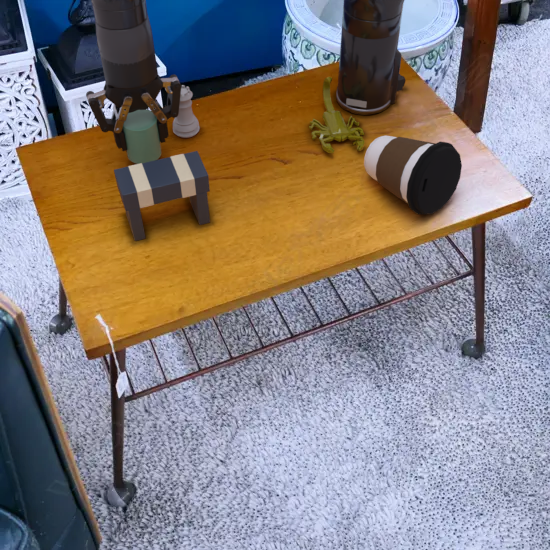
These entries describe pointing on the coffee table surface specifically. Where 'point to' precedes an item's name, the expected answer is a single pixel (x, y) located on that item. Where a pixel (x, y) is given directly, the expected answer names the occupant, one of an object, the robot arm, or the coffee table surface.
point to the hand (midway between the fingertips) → (143, 143)
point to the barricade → (163, 187)
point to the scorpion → (335, 124)
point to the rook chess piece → (185, 116)
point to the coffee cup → (415, 170)
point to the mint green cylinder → (142, 137)
